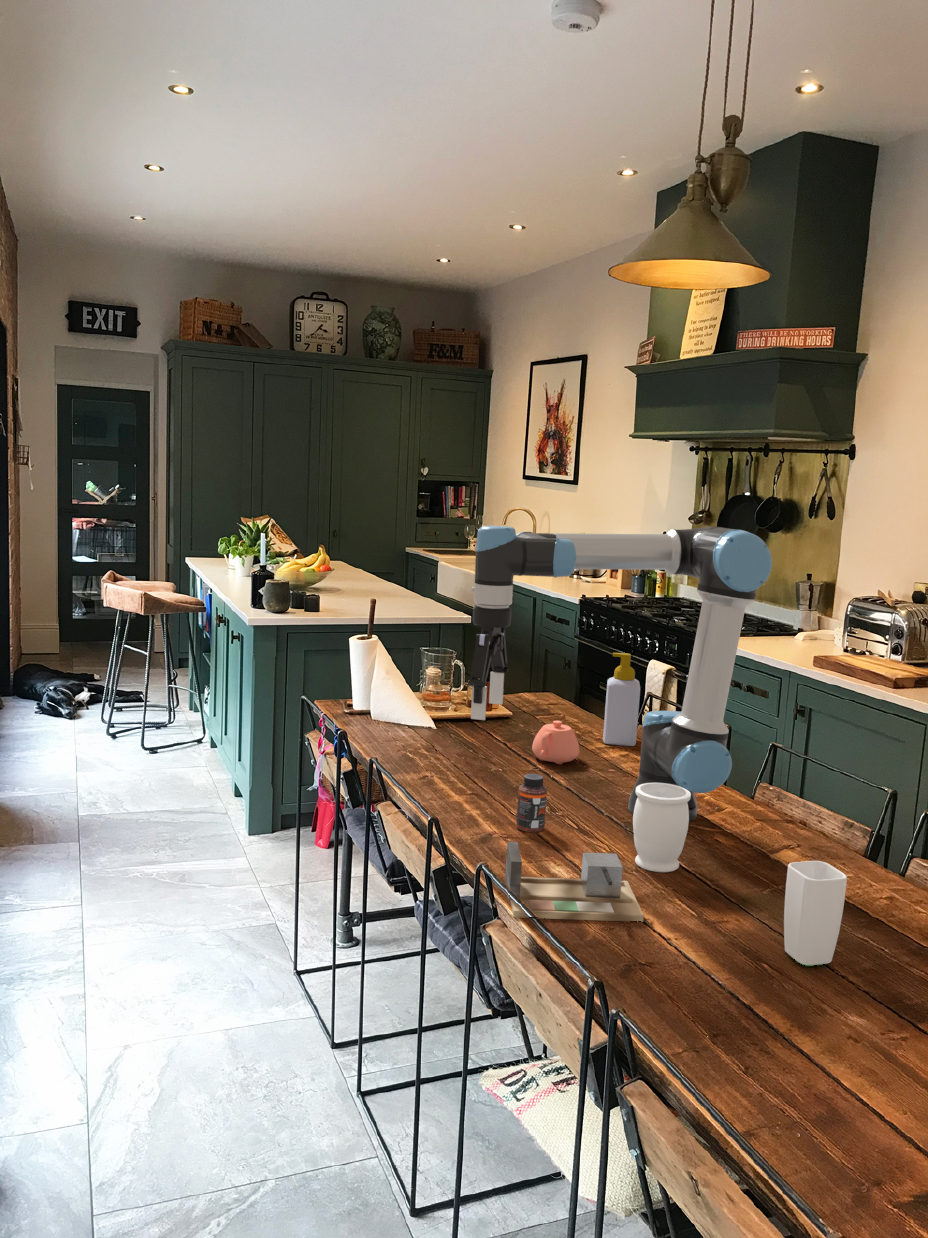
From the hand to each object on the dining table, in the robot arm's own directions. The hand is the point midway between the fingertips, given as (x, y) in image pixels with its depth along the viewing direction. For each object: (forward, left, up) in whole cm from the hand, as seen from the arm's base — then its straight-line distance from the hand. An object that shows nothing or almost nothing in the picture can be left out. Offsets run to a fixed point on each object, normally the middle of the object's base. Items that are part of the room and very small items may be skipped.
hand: (487, 711), depth 197 cm
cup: (-50, +46, -27) cm, 73 cm away
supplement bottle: (-11, -7, -27) cm, 30 cm away
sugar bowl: (-22, -57, -27) cm, 67 cm away
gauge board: (-15, +28, -27) cm, 41 cm away
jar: (-34, +10, -27) cm, 44 cm away
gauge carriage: (-20, +29, -25) cm, 43 cm away
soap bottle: (-43, -77, -27) cm, 92 cm away
